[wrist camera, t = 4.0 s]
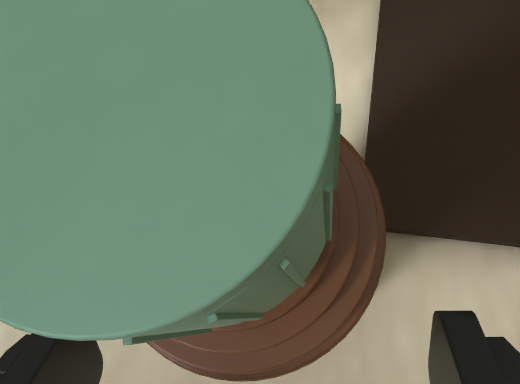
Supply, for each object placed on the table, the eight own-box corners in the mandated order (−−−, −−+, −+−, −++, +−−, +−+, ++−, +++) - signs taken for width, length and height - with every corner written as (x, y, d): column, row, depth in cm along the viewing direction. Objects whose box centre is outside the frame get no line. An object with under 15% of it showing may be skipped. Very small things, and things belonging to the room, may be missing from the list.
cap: (70, 308, 7) (-168, 302, 4) (125, 84, 8) (-25, -85, 5) (318, 349, 6) (306, 390, 3) (347, 99, 7) (362, -88, 4)
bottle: (225, 330, 23) (-253, 403, 4) (244, 214, 24) (-46, -123, 5) (346, 350, 22) (449, 577, 3) (358, 228, 23) (477, -136, 4)
